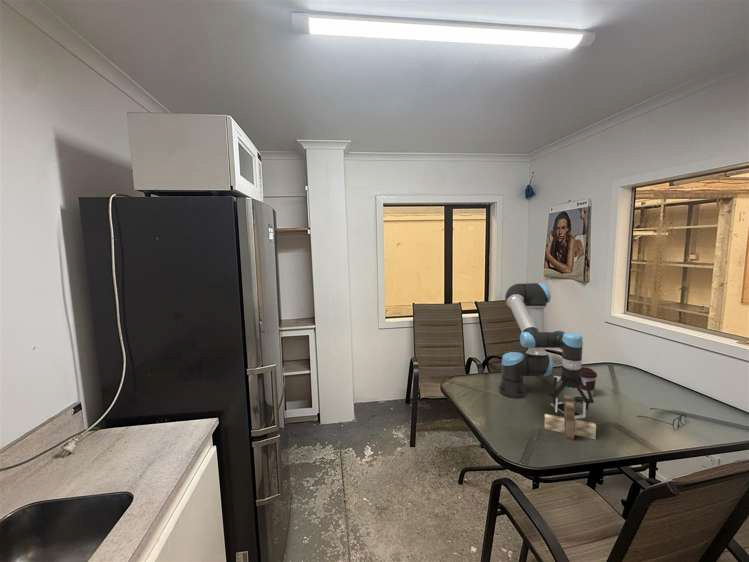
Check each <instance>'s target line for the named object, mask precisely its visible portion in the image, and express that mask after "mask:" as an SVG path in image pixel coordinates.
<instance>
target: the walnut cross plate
mask: <svg viewBox="0 0 749 562" xmlns="http://www.w3.org/2000/svg"><path fill="white" fill-rule="evenodd" d="M563 397H564V398H563V403H564V413H563V417H564V419H565V427H566V430H565V433H564V434H565V439H566V440H572V441H575V435H574V417H575V411H576V409H575V405H574V404H575V403H574V400H573V397H572V395H564V396H563Z"/></svg>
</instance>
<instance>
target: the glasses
mask: <svg viewBox="0 0 749 562" xmlns="http://www.w3.org/2000/svg"><path fill="white" fill-rule="evenodd" d="M652 409H653V410H658V411H664V412H667V413H671V414H673V415H674V414H675V415H679V416H677V418H674V419H673V421H672V423H669V422H667V421H662V420H658V419H655V418H653V417H648V416H644V415H636V417H643V418H647V419H651V420H653V421H657V422H661V423H664V424H668V425H671V426H672V427H673V429H674V430H676V429H675V425H674V424H675V423H674V422H675V421H676V420H677V421H678V422H677V427H676V428H677V429H679V427H680V424H681V425H683V423H682V416H683V417H685V418H687V414H686V413H682V414H681V413H676V412H673V411H668V410H665V409H661V408H656V407H651V408H649V410H652ZM685 422H686V423H687V419H685V421H684V423H685Z"/></svg>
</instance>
